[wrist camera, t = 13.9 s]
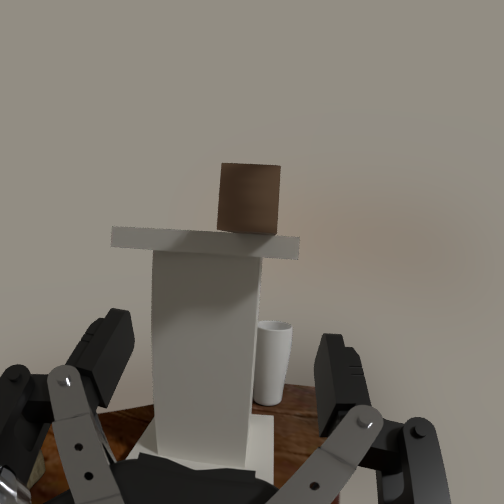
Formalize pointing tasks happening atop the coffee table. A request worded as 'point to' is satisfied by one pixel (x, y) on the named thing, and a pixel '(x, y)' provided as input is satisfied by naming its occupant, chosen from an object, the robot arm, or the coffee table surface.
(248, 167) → the walnut bar
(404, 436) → the robot arm
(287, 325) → the drinking glass
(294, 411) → the coffee table surface
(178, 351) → the shelf stand
